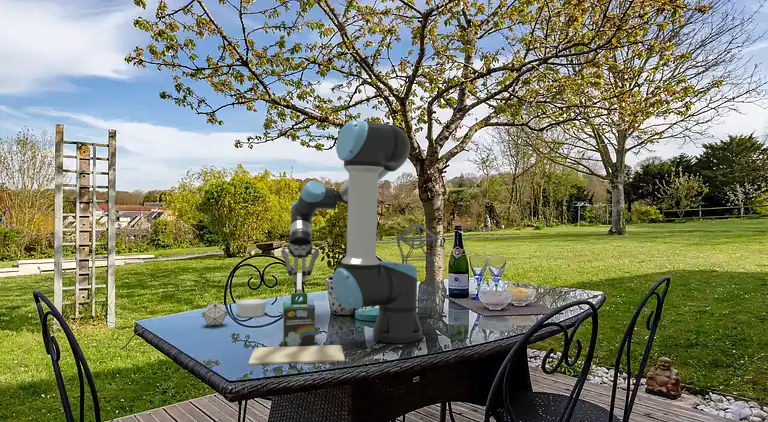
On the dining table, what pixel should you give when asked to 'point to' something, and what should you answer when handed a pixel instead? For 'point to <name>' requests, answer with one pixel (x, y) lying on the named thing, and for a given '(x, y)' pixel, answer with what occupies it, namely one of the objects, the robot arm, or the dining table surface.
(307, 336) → the chalk box
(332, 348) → the beige mat
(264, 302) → the ramekin
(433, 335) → the dining table surface
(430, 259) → the geometric lantern
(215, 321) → the game die
